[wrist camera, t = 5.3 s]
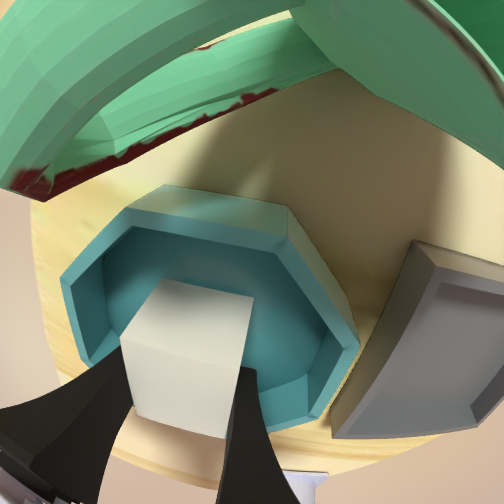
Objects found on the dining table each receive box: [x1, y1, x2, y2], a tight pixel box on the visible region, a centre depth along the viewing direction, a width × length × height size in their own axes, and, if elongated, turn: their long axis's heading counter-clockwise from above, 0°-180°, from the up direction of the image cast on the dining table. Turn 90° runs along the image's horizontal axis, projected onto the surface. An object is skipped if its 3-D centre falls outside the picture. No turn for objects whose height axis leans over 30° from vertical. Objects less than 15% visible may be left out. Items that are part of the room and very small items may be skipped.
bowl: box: [60, 185, 360, 438], centre depth 13 cm, size 13×13×3 cm
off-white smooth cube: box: [120, 278, 254, 439], centre depth 11 cm, size 5×4×4 cm
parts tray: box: [330, 240, 504, 439], centre depth 13 cm, size 12×13×2 cm
